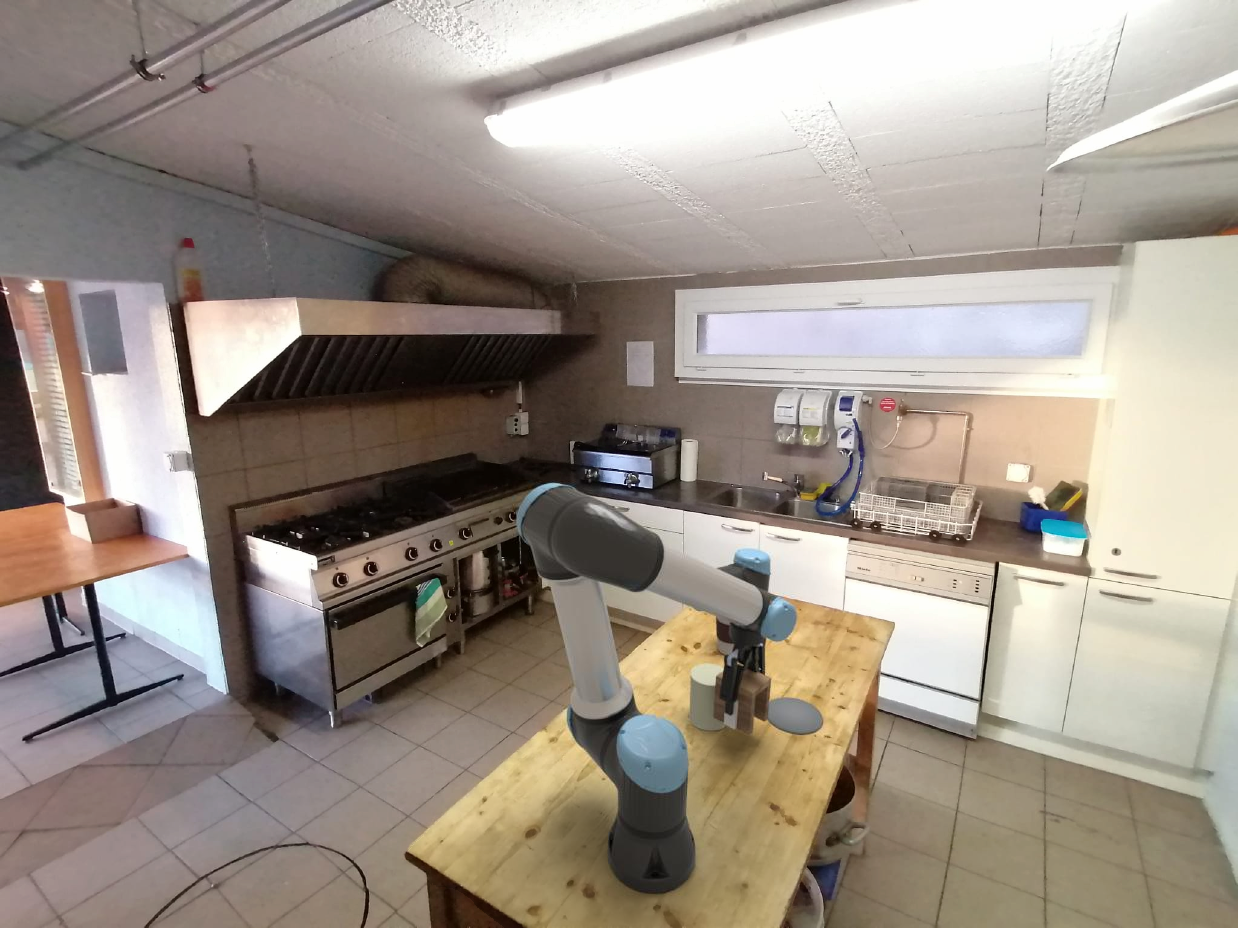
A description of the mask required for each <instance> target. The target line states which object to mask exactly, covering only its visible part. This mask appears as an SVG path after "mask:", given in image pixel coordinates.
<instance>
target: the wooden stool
mask: <svg viewBox="0 0 1238 928" xmlns="http://www.w3.org/2000/svg"><path fill="white" fill-rule="evenodd" d="M738 664H739V665H741V666H743V665H742V664H740V663H738ZM722 676H723V672H721V673H720V674H718V675H717V676H716V683H715V698H714V714H713V718H715V719H717V720H719V721H721V722H723V723H724V713H725V701H723V700H721V699H719V695H720V689H721V683H722ZM771 686H772V677H770V676H768V675H766V674H765V675H763V674H761V673H759V672H757V673H756V672H753V671H751V670H749V669H747V670H746V671H744V673H743V677H742V680H741V684H740V686H739V691H738V695H737V699H736V700H738V713H737V727H736V729H735V730H737V731H739V732H741V733H743V734H745V735H746V736H749V737H750V736H751V735H752V734H753V733H754V722H755V720H754V719H757V720H760V721H762V722H763V723H765V722H766V721H768V711H769V702H770V698H771V688H772V687H771Z"/></svg>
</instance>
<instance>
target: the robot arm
mask: <svg viewBox="0 0 1238 928" xmlns="http://www.w3.org/2000/svg"><path fill="white" fill-rule="evenodd" d="M516 530H517V531H518V534H519V536H520V537H521V539H522V541H524V543H526V544H527V545H528V546H530V549H531V552H532V555H533V560H534V565H535V567H536V571H537V574H538V577H540V578H541V579H543V580H545V581H547V582H548V583H549V585H550V589H551V590H550V591H551V594H552V597H553V598H552V599H553V603H554V606H555V610H556V615H557V619H558V623H559V627H560V631H561V635H562V640H563V643H564V648H565V652H566V656H567V659H568V664H569V669H570V672H571V676H572V680H573V684H574V688H573V690H572V692H571V694H570V699H569V701H570V704H569V705H568V706H567V709H566V723H567V728H568V730H569V731H570V733H571V735H572V737H573V739H574V741H575V742H576V743H577V745H578V746H579V747H580V748H582V749H583V750H584V751H585V752H586V753H587V754H588V755H589V757H590V758H591V759H592V760H593V761H594V762H595V764H596V765H597V766H598V767H599V769H600V770H601V771H602V772H603V774H605V775H606V776H607V778H608V779H610V781H611V782H612V783H613V784H614V786H615V787H616V790H617V814H616V816H615V818H614V820H613V821H614V822H613V824H612V825H611V829H610V831H609V834H608V840H607V859H608V864H609V866H610V869H611V871H612V873H613V874H614V876H615V877H616V878H617V879H618V880H619V881H620V882H621V883H622V884H623V885H625V886H627V887H628V888H630V889H633V890H635V891H637V892H641V893H647V894H661V893H662V894H663V893H667V892H670V891H672V890H675V889H676V888H678V887H680V886H681V885H683V884H684V882H686V881H687V880H688V878H690V875H691V874H692V872H693V870H694V868H695V862H696V843H695V842H696V841H695V838H694V835H693V832H692V830H691V828H690V823H689V821H688V818H687V802H688V801H687V799H688V783H689V781H688V779H689V778H688V777H689V767H690V763H689V761H690V760H689V754H688V744H687V740H686V737H685V736H684V734H683V733H682V731H681V730H680V729H679V728H678V726H677V725H676V724H674V723H673V722H671V721H670V720H668V719H667V718H665V717H662V716H660V717H659V718H657V717H656V715H654V714H648V713H647V714H643V713H641V711H640V710H639V708H638V707H637V704H636V698H635V693H634V689H633V686H632V683H631V682H630V680H629V679H628V678H627V677H625V676H624V675H622V673H621V667H620V663H619V659H618V655H617V649H616V645H615V641H614V636H613V631H612V626H611V622H610V617H609V611H608V606H607V603H606V602H607V601H606V597H605V593H604V587H603V584H607V585H610V586H614V587H617V588H620V589H623V590H626V591H629V592H631V593H635V594H636V593H642V592H645V591H649V592H650V593H654V594H656V595H658V596H661V597H663V598H667V599H669V600H672V601H675V602H677V603H680V604H682V605H685V606H687V607H690V608H692V609H693V610H695V611H696V612H704V613H706V614H709V615H712V616H714V617H716V616H717V617H719V618H722V619H725V620H727V621H730V626H729V636H730V638H731V639H732V640H733V642H734V646H733V649H732V654H731V655H727V654H726V655H724V657H723V663H724V664H723V665H724V666H723V668H724V670H723V676H722V683H721V689H720V695H719V699H721V700H723V701H725V713H724V724H725V725H726V726H727V727H729V728H731V729H733V730H737V729H736V727H737V713H738V700H736V699H737V695H738V691H739V686H740V684H741V680H742V677H743V673H744V671H746V670H747V669H749V670H751V671H753V672H756V673H757V672H759V673H761V674H763V675H766V642H767V640H771V641H773V642H775V643H778V642H783V641H785V640H786V639H788V638H789V637H790V636H791V635H792V633H793V632H794V628H795V626H796V624H797V620H798V614H797V610H796V608H795V606H794V605H793V604H792V603H791V602H789V601H787V600H785V599H784V598H783V597H781V596H777V595H775V594H773V593H771V592H769V589H770V588H769V587H770V581H771V580H770V578H771V574H772V573H771V557H770V555H769V554H768V553H767V552H765V551H763V550H761V549H756V548H741V549H738V550H737V551H736V552H735V553H734V557H733V559H732V562H733V563H730V564H727V565H723V566H719V567H714V566H713V565H710V564H708V563H706V562H704V561H702V560H700V559H697V558H695V557H692V556H691V555H687V553H684V552H682V551H680V550H677V549H675V548H673V547H670V546H669V545H667V544H665V543H664V540H663V539H662V537H661V536H660V535H659V534H657V533H655V532H654V531H651V530H650V529H648V528H646V527H644V526H642V525H640V524H639V523H637V522H636V521H634V520H632V519H631V518H630V517H628V516H627V515H625V514H623V512H621V511H620V510H618V509H616V508H615V507H613V506H612V505H610V504H609V503H606V502H605V501H602V500H601V499H597V498H596V497H593V496H591V495H588V494H586V493H584V492H581V491H579V490H578V489H577V488H576V487H573V486H571V485H570V484H569V485H567V484H561V483H557V482H550V483H546V484H541V485H539V486H537V487H536V488H534V489H533V490H531V491H530V492H529V493H528V494H527V495H526V496H525V498H523V500H522V503H521V504H520V505H519V508H518V510H517V514H516ZM739 664H740V665H739ZM741 665H742V666H741Z"/></svg>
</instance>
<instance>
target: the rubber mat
mask: <svg viewBox="0 0 1238 928" xmlns="http://www.w3.org/2000/svg"><path fill="white" fill-rule="evenodd" d="M767 721H768V722H769V723H771V725H773V726H774V727H775V728H777V729H779V730H781V731H784V732H787V733H790V734H795V735H810V734H812V733H816V732H817V731H819V730H820V729H821V728H822V726H823V721H824V719H823V715H822V713H821V712H820V710H819V709H818V708H817V707H816V706H815V705H813V703H812V704H811V703H809V702H808V701H805V700H803V699H799V698H797V697H796V698H795V697H789V696H788V697H778V698H774V699H772V700H769V711H768V719H767Z"/></svg>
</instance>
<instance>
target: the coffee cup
mask: <svg viewBox="0 0 1238 928" xmlns="http://www.w3.org/2000/svg"><path fill="white" fill-rule="evenodd" d="M715 625H716V627H715V631H716V639H717V650H718V652H720V653H721V654H723V655H724V656H725V655H726V654H727V655H731V654H732V649H733V646H734V642H733V640H732V639H731V638H730V636H729V626H730V621H727V620H725V619H722V618H719V617H717V616H715Z"/></svg>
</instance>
